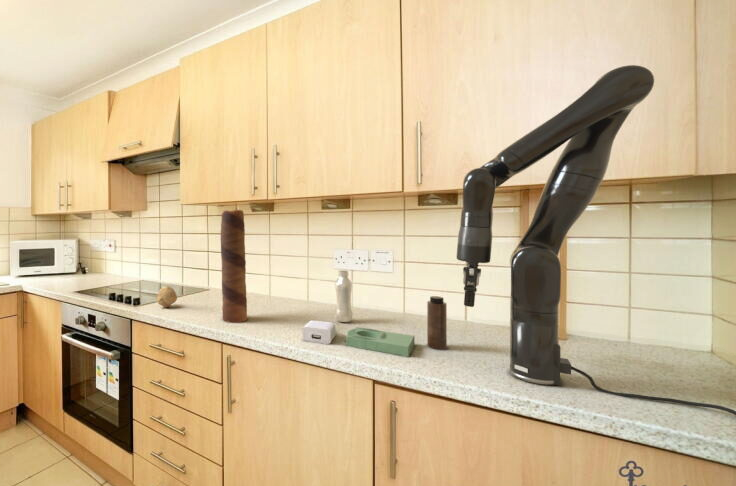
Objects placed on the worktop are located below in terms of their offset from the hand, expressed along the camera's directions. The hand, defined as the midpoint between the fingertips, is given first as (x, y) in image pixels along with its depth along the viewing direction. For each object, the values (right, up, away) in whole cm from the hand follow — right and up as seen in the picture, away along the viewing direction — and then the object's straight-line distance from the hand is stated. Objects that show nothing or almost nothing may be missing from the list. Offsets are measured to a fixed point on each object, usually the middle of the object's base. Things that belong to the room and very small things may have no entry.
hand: (469, 303), depth 98 cm
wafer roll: (-62, -17, +50) cm, 82 cm away
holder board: (-17, -17, +17) cm, 30 cm away
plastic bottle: (-19, -17, +45) cm, 52 cm away
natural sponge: (-93, -17, +73) cm, 120 cm away
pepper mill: (0, -17, +15) cm, 23 cm away
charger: (-33, -17, +28) cm, 46 cm away
